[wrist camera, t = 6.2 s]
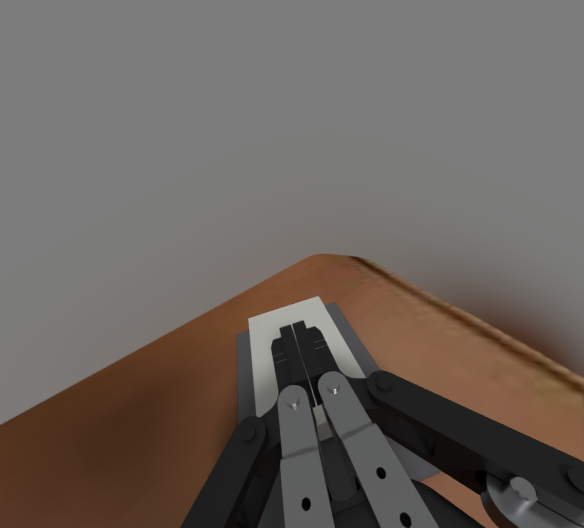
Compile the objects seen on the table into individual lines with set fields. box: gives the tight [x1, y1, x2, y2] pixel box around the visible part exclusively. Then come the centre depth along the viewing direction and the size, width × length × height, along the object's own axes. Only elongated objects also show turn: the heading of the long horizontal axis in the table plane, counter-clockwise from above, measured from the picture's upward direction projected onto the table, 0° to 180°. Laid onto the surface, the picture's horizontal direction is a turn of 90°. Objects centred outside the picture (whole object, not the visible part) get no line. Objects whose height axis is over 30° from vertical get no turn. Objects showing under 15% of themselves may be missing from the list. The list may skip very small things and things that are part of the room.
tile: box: [249, 296, 366, 441], centre depth 20 cm, size 2×8×12 cm
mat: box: [237, 302, 442, 528], centre depth 19 cm, size 16×12×1 cm
